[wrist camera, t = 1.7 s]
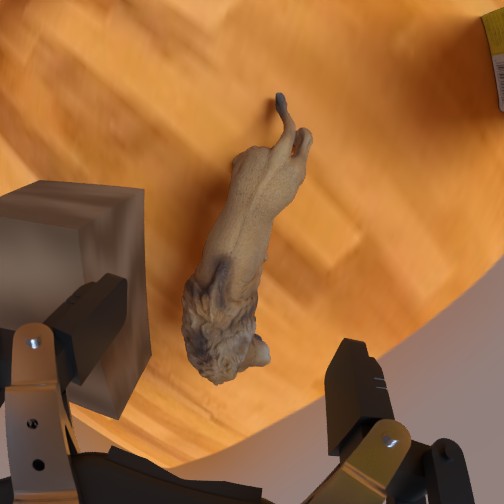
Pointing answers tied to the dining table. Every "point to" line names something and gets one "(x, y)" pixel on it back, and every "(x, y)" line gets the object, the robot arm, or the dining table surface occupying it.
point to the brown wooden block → (78, 272)
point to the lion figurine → (241, 257)
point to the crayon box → (496, 47)
